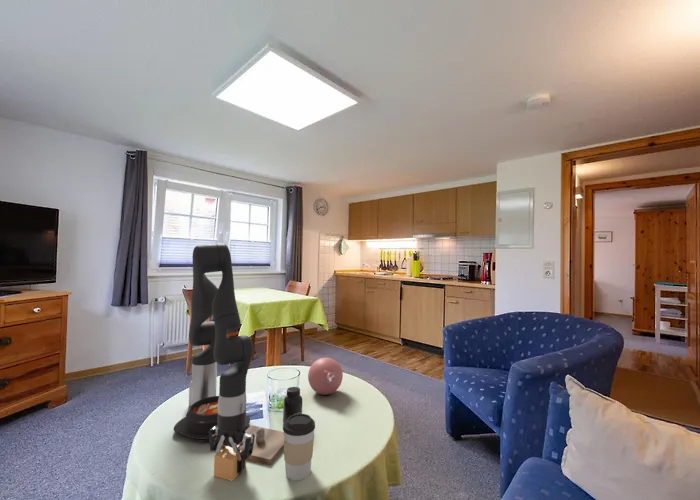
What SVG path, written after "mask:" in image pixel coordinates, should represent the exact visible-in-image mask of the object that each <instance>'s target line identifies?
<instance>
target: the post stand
mask: <svg viewBox="0 0 700 500" xmlns="http://www.w3.org/2000/svg"><path fill="white" fill-rule="evenodd" d="M245 432H246V434H249V435H251V434H254V435H255V438H254V445H253V451H252V454H251V455H250V456H249V457H248V458H247V459H246V460H249V461H252V462H258V463H260V464H266V465H270V466H271V464H272V463H273V462H274V461H275V460H276V459H277V458H278V456H279V455H280V454H281V453H282V452H284V441H283V436H284V431H283V430H282V431H281V430H275V429H271V428H266V427H263V426H257V425H253V424H251V425H250V426H249V427H248V428H247V429H245ZM243 440H244V438H243ZM244 442H245V441H244ZM239 445H240V444H239Z"/></svg>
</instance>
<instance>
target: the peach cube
mask: <svg viewBox="0 0 700 500" xmlns="http://www.w3.org/2000/svg"><path fill="white" fill-rule="evenodd" d="M238 446H239V445H237V447H238ZM240 452H241V450H240ZM241 453H242V452H241ZM237 460H238V458H237V456H236V453H234V451H233V448H231V447H229V446H226V447H225V448H223V449H222V450H221V451H220V452H218V453H217V454H214V463H213V468H214V469H213V476H214V477H217V478H220V479H224V480H229V481H231V482H233V481H234V480H235V479H236V478H237V477H238V476H239V475H240V474H238V473H237ZM245 468H247V459H246V460H245Z"/></svg>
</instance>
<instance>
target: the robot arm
mask: <svg viewBox="0 0 700 500" xmlns="http://www.w3.org/2000/svg"><path fill="white" fill-rule="evenodd" d="M230 251H231V250H230V249H229V246H228V245H227V244H225V243H208V244H207V243H206V244H198V245H196V246H195V247H194V248H193V251H192V291H191V301H190V303H191V305H190V306H191V314H190V315H191V317H190V318H191V319H190V324H189V330H188V340H189V344H191V346H194V347H199V346H200V347H201V346H207V347H206V348H205V349H203V350H201V351H198V352H197V353H195V354H194V355H193V356H192V359H191V360H192V361H191V363H192V364H191V381H189V383H188V384H189V386H188V387H189V388H188V392H189V393H188V407H191V406H192V404H194V403H195V402H197V401H199V400H201V399H204V398H208V397H212V396H217V383H218V382H217V381H218V380H217V378H218V377H217V376H218V365H220V366H224V365H225V366H226V365H230V364H234V365H233V366H232V367H230V368H229V369H227V370H225V371H223V372H221V374H220V375H219V388H218V389H219V394H218V396H219V399H218V418H217V426H214V427H213V428H211V429H210V430H209V440H208V441H209V450H210V452H214V453H215V454H214V455H216V454H217V453H218V452H220V451H221V450H222V449H223V448H225V447H226V446H229V447H231V448H233V451H234V453H236V456H237V458H238V460H237V473H238V474H239V475H240V474H241V473H242V472H243V471H244V470H245V469H246V467H245V460H246V461H247V460H248V459H247V458H248V457H249V456H250V455H251V454H252V451H253V445H254V438H255V435H254V434H251V435H249V434H246V432H245V431H246V428H244V427H245V423H246V415H247V392H246V391H247V389H246V388H247V375H248V372H249V366H250V365H251V360H252V357H253V355H254V354H253V353H254V343H253V340H252V339H251V337H249V335H246V334H245V335H239V336H231V337H228V334H229V333H232V332H235V331H236V330H238V329H239V328H241V325H242V323H241V317H240V313H239V309H238V305H237V299H236V294H235V284H234V273H233V265H232V264H233V263H232V256H231V252H230ZM217 272H221V274H222V275H221V276H222V277H221V282H220V283H219V287H217V286H216V285H215V284H214V282H212V281H211V280H210V279H209V278H208V277H207V275H206V274H208V273H217ZM211 317H213V320H212V321H211V320H210V321H207V320H208V319H209V318H211ZM243 438H244V440H243ZM244 441H245V442H244ZM239 444H240V445H239ZM237 445H239V446H238V447H237ZM240 450H241V452H242V453H241V452H240Z"/></svg>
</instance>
